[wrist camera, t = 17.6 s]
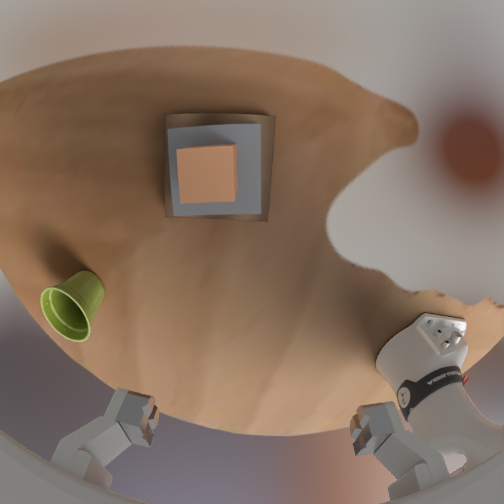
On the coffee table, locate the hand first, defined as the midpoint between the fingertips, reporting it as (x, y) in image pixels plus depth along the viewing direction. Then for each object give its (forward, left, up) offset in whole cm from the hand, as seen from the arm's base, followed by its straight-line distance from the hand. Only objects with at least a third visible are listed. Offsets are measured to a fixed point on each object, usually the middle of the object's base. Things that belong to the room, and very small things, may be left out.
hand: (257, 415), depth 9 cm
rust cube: (+4, -6, -21) cm, 22 cm away
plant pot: (+26, +13, -27) cm, 40 cm away
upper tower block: (+4, -6, -24) cm, 25 cm away
